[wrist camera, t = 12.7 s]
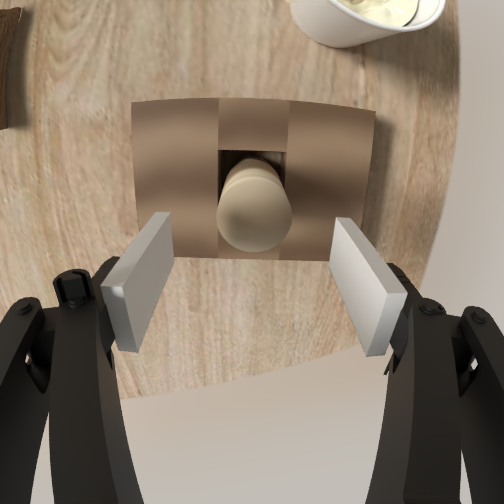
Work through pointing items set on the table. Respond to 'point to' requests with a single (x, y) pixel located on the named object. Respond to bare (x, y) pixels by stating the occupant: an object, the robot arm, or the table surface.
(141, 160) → the wooden block with hole
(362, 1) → the candle holder
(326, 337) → the table surface
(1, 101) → the wood plank
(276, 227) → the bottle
